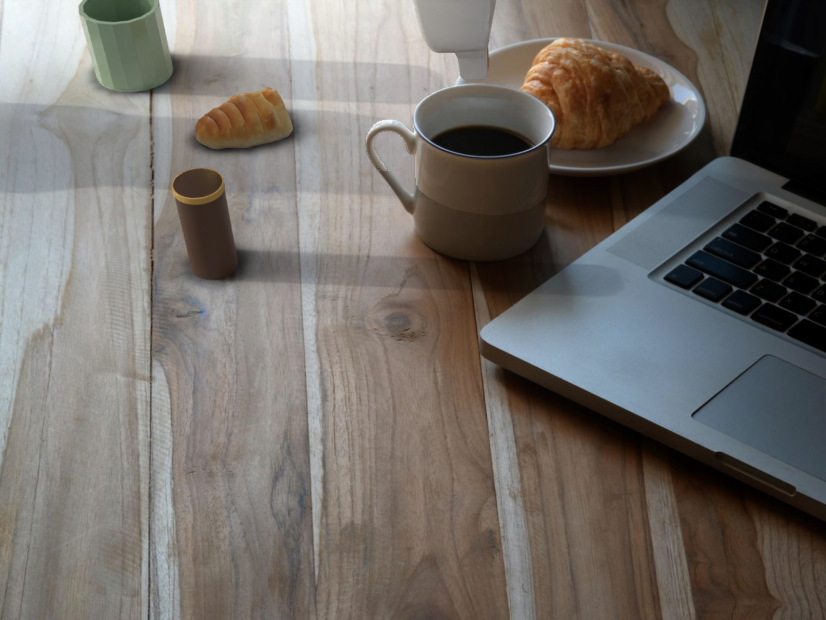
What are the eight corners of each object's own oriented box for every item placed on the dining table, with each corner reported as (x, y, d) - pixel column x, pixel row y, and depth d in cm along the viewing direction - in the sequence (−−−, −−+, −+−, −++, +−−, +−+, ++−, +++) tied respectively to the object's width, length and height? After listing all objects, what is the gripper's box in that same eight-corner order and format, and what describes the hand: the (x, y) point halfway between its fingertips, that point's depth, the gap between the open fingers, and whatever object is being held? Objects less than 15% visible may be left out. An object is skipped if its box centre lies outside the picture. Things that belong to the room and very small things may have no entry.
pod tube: (184, 280, 80) (164, 196, 73) (198, 248, 83) (180, 165, 76) (231, 284, 80) (215, 201, 73) (244, 253, 82) (229, 169, 76)
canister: (86, 90, 99) (66, 20, 93) (113, 52, 105) (95, -17, 99) (160, 97, 99) (144, 27, 93) (182, 58, 104) (169, -11, 98)
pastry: (211, 165, 91) (204, 131, 88) (186, 130, 95) (179, 97, 92) (299, 138, 94) (295, 105, 92) (271, 106, 98) (267, 73, 96)
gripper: (432, -251, 60) (457, -45, 70) (374, -96, 47) (415, 126, 58) (531, -259, 59) (541, -49, 69) (498, -103, 46) (516, 125, 57)
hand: (483, 32), depth 63 cm, fingers open, 8 cm apart
